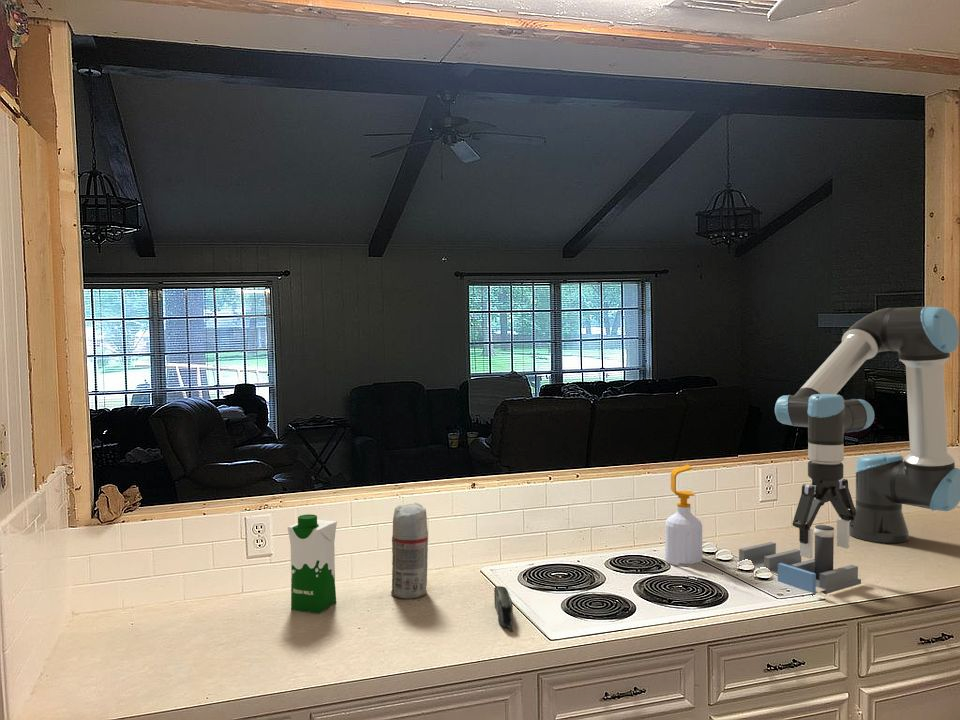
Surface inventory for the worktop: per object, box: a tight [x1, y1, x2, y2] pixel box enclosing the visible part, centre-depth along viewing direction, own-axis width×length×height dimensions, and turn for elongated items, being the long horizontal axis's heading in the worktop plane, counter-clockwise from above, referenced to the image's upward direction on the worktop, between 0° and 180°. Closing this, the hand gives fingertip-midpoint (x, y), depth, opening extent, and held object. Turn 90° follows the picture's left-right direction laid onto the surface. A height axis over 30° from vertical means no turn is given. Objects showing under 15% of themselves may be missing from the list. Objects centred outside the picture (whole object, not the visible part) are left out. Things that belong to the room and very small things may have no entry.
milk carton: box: [287, 513, 338, 614], centre depth 164 cm, size 9×9×20 cm
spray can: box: [390, 502, 429, 600], centre depth 172 cm, size 8×8×20 cm
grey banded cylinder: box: [813, 524, 835, 580], centre depth 177 cm, size 4×4×12 cm
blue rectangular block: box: [777, 563, 817, 597], centre depth 172 cm, size 1×9×5 cm, turn 31°
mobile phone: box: [493, 585, 514, 633], centre depth 157 cm, size 5×3×15 cm
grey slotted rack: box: [736, 541, 862, 595], centre depth 184 cm, size 13×25×4 cm, turn 31°
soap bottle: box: [664, 464, 703, 568], centre depth 193 cm, size 9×9×25 cm
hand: (825, 552), depth 177 cm, fingers open, 13 cm apart
